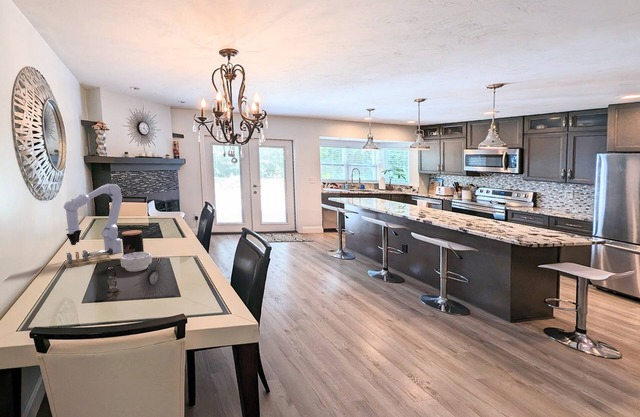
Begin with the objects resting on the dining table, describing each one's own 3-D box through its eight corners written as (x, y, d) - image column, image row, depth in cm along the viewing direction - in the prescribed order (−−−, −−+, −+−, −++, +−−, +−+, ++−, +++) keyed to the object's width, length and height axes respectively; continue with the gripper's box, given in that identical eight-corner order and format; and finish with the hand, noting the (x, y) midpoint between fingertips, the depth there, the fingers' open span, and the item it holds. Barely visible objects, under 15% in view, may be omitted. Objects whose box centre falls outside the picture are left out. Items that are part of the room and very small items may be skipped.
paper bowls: (140, 274, 205) (139, 259, 204) (115, 272, 208) (113, 258, 207) (158, 266, 220) (157, 252, 219) (133, 265, 223) (132, 251, 222)
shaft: (111, 253, 240) (111, 247, 239) (113, 254, 237) (112, 248, 236) (82, 258, 230) (81, 251, 229) (83, 259, 227) (82, 252, 226)
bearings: (86, 258, 232) (85, 250, 232) (88, 260, 228) (87, 252, 227) (67, 261, 226) (66, 253, 226) (69, 263, 222) (68, 254, 221)
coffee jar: (120, 263, 226) (117, 232, 224) (136, 259, 235) (133, 229, 233) (132, 265, 221) (129, 234, 219) (148, 261, 230) (146, 231, 228)
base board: (106, 257, 242) (106, 254, 242) (111, 260, 233) (111, 258, 233) (64, 263, 228) (64, 261, 228) (67, 268, 219) (67, 265, 219)
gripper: (68, 220, 239) (70, 241, 241) (61, 223, 226) (64, 246, 228) (81, 219, 242) (83, 240, 244) (75, 222, 228) (78, 245, 230)
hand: (75, 243), depth 236 cm, fingers open, 7 cm apart
